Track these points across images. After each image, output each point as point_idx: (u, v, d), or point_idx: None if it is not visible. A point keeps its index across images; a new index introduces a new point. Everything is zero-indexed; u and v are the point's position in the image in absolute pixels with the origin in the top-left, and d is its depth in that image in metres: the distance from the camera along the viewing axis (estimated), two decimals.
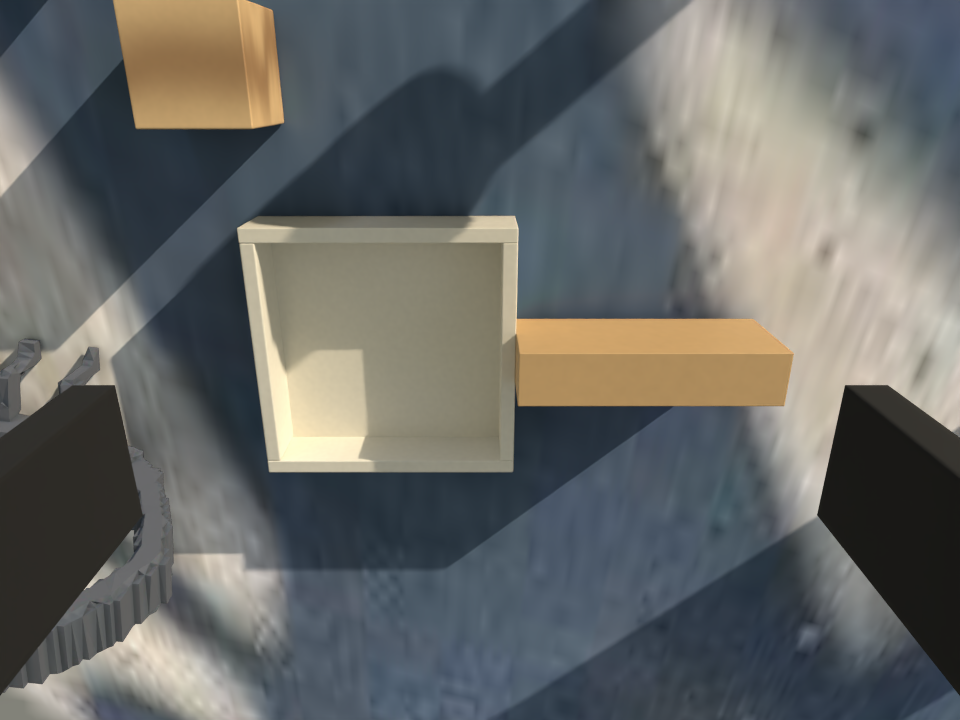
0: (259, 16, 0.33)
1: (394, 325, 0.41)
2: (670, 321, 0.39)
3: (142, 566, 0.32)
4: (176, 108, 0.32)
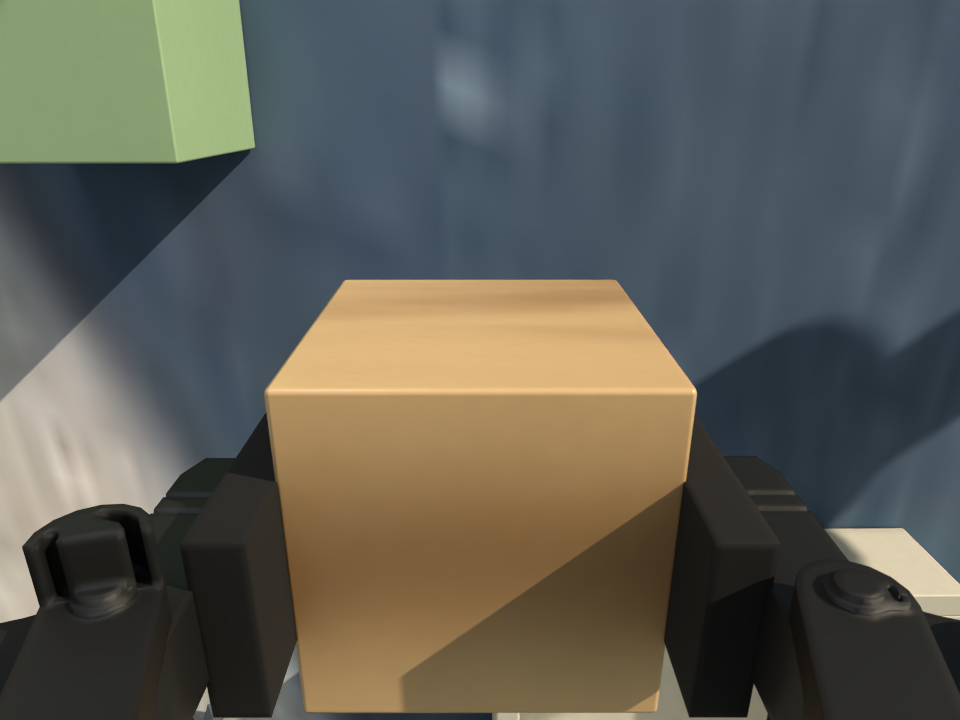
0: None
1: None
2: None
3: None
4: (434, 670, 0.10)
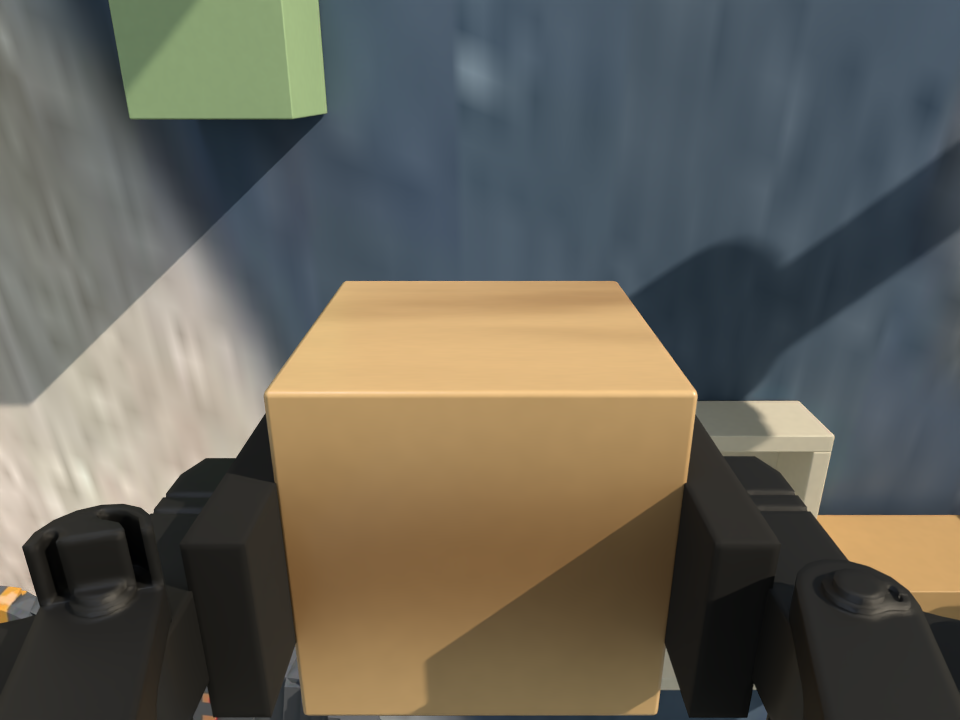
0: None
1: None
2: None
3: None
4: (434, 673, 0.10)
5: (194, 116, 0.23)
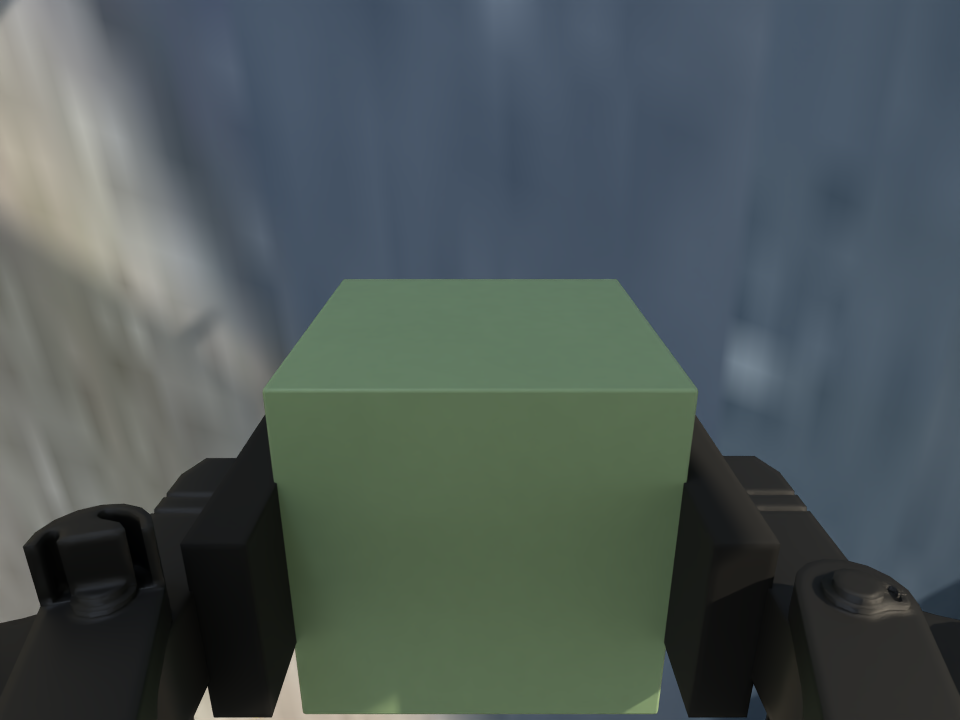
0: None
1: None
2: None
3: None
4: None
5: (444, 709, 0.11)
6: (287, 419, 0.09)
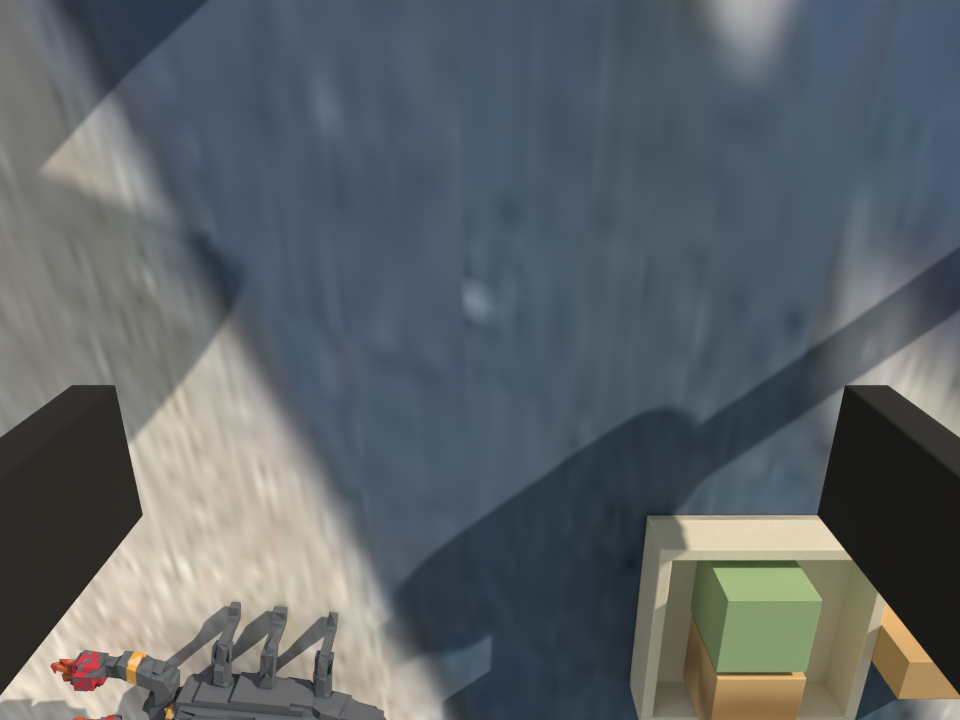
0: None
1: None
2: None
3: None
4: None
5: (752, 671, 0.42)
6: (732, 606, 0.40)
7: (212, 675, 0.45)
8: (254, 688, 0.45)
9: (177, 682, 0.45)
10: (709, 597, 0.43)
